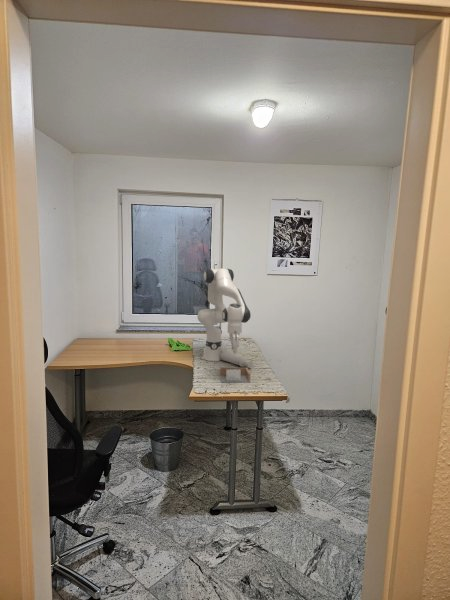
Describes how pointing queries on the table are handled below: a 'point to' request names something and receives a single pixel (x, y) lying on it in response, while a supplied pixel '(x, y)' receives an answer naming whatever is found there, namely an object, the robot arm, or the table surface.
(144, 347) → the table surface
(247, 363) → the bottle
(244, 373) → the tray
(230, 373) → the bracket
